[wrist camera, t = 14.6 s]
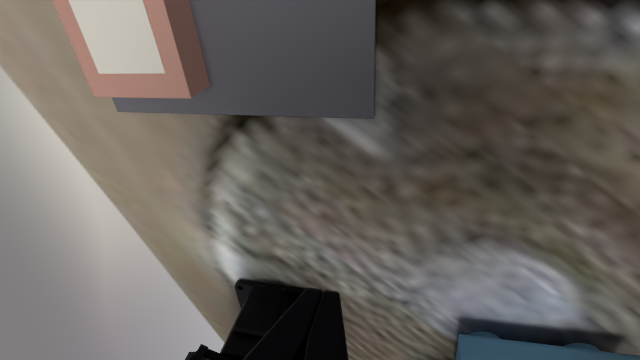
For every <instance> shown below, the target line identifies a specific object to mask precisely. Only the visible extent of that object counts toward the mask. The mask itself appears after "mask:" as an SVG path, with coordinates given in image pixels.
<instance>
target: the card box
mask: <svg viewBox="0 0 640 360" xmlns="http://www.w3.org/2000/svg"><path fill="white" fill-rule="evenodd" d="M52 1H53V3H54V5H55V7H56V10H57V12H58V14H59V17H60V19H61V21H62V24H63V26H64V28H65V30H66V33H67V35H68V37H69V40H70V42H71V44H72V46H73V49H74V51H75V53H76V56H77V58H78V60H79V62H80V65H81V67H82V69H83V72H84V74H85V76H86V78H87V81H88V83H89V85H90V88H91V90H92V92H93V94H94V97H125V98H193V97H194V96H195V95H197V94H198V93H200V92H201V91H203V90H204V89H206V88H207V87H209V86H210V84H209V80H208V76H207V72H206V67H205V63H204V59H203V55H202V51H201V47H200V43H199V39H198V35H197V31H196V27H195V23H194V19H193V15H192V11H191V7H190V3H189V0H52Z"/></svg>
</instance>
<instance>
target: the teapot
mask: <svg viewBox="0 0 640 360" xmlns="http://www.w3.org/2000/svg"><path fill="white" fill-rule="evenodd" d="M456 360H640V356H637V355H629V354H621V353H613V352H604V351H600V350H599V349H598V348H597V347H595V346H593V345H590V344H586V343H572V344H568V345H565V346H555V345H546V344H538V343H530V342H521V341H513V340H505V339H500V338H499V337H498V336H496V335H495V334H492V333H489V332H484V331H478V332H473V333H470V334H468V335H464V334H459V337H458V345H457V353H456Z"/></svg>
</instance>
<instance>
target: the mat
mask: <svg viewBox="0 0 640 360" xmlns="http://www.w3.org/2000/svg"><path fill="white" fill-rule="evenodd" d="M189 3H190V7H191V11H192V15H193V19H194V23H195V27H196V31H197V35H198V39H199V43H200V47H201V51H202V55H203V59H204V63H205V67H206V72H207V76H208V80H209V84H210V86H209V87H207V88H206V89H204V90H203V91H201V92H200V93H198V94H197V95H195V96H194V97H193V98H125V97H112V99H113V101H114V104H115V106H116V109H117V111H118V112H144V113H181V114H218V115H255V116H292V117H328V118H365V119H374V100H375V32H376V0H189Z"/></svg>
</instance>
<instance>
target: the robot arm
mask: <svg viewBox="0 0 640 360" xmlns="http://www.w3.org/2000/svg"><path fill="white" fill-rule="evenodd" d="M235 290H236V293H237V296H238V300H239V303H240V306H241V311H240V313H239V315H238V317H237V319H236V321H235V323H234V325H233V327H232V329H231V331H230V333H229V335H228V337H227V339H226V341H225V344H224V346H223V348H222V350H221V352H220V353H217V352H215V351H213V350H210V349H208V347H207V346H204V345H202V344H201V345H200V347H199V349H198V350H197V351H196V352H189V353H188V355H187V357H186V359H185V360H349V359H348V352H347V344H346V337H345V330H344V322H343V315H342V308H341V300H340V294H339V292H337V291H330V290H325V291H323V290H321V289H316V288H307V289H306V290H305V289H299V288H292V287H285V286H278V285H271V284H265V283H258V282H251V281H244V280H238V281H237V282H236V284H235Z"/></svg>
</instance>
